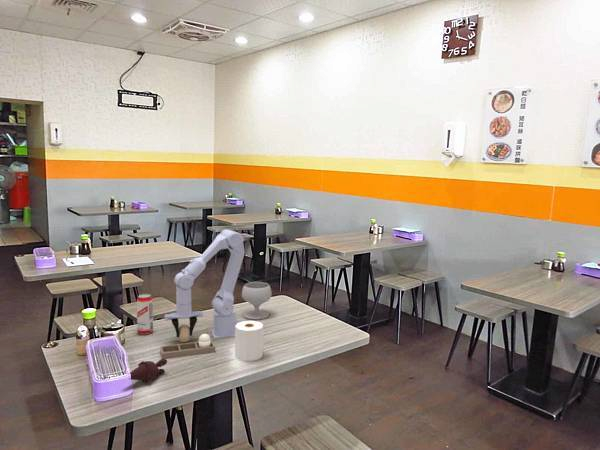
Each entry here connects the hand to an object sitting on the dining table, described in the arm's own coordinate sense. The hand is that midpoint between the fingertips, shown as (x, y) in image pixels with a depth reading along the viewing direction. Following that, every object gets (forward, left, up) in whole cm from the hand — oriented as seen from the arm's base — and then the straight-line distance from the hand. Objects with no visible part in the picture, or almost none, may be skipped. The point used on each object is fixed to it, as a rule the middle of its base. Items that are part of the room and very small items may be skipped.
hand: (184, 335), depth 175 cm
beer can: (+14, -15, -3) cm, 21 cm away
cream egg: (-6, +11, -2) cm, 13 cm away
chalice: (-36, -21, -3) cm, 42 cm away
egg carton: (0, +11, -3) cm, 11 cm away
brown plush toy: (+16, +29, -3) cm, 33 cm away
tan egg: (0, 0, -2) cm, 2 cm away
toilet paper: (-21, +21, -3) cm, 30 cm away
